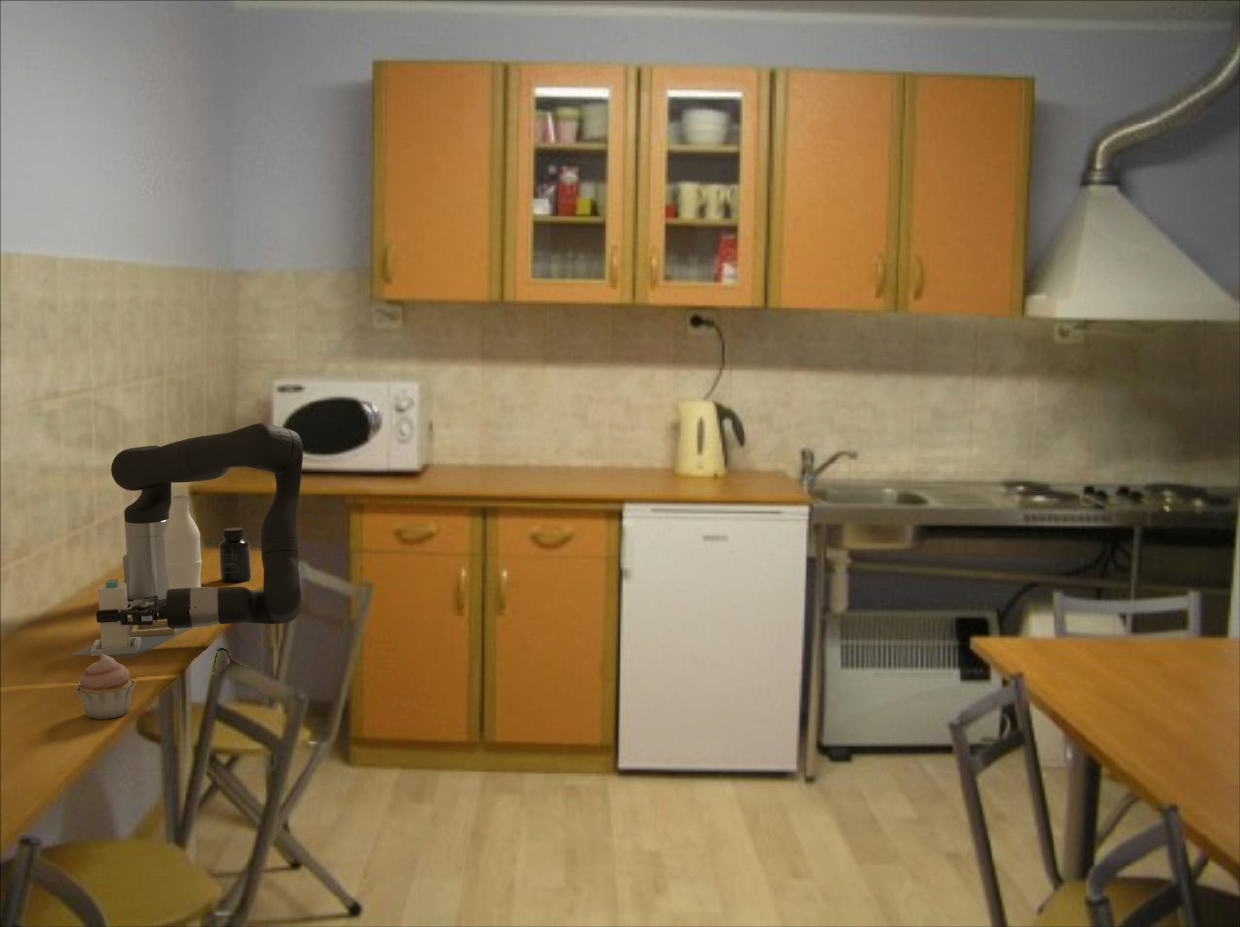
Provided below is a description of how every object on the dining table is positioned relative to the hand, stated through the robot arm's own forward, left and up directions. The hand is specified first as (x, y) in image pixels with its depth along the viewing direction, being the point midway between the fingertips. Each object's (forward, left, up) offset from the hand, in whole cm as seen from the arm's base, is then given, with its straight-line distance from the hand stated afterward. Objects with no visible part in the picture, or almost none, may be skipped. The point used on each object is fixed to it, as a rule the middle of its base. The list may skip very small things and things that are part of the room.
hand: (98, 613), depth 259 cm
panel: (+2, +8, -8) cm, 11 cm away
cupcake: (+21, -33, -8) cm, 40 cm away
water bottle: (+1, +29, -8) cm, 30 cm away
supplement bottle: (-4, +62, -8) cm, 63 cm away
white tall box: (+2, +1, -7) cm, 8 cm away
